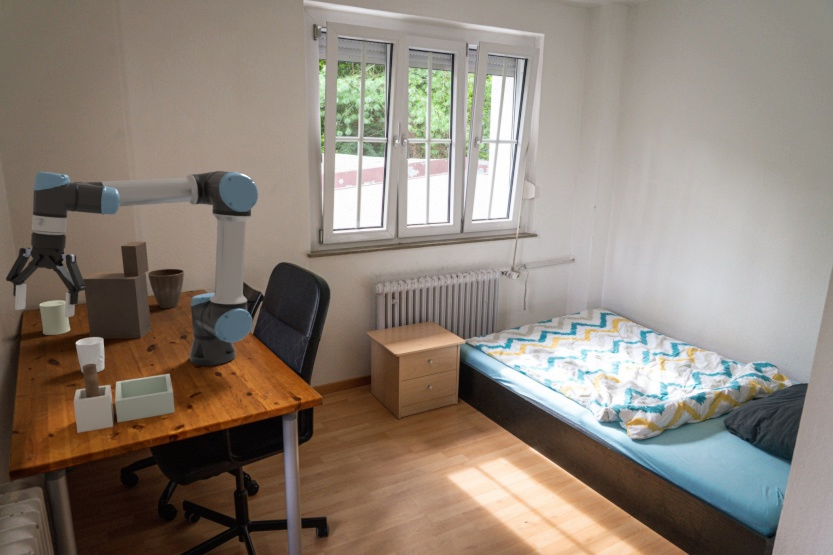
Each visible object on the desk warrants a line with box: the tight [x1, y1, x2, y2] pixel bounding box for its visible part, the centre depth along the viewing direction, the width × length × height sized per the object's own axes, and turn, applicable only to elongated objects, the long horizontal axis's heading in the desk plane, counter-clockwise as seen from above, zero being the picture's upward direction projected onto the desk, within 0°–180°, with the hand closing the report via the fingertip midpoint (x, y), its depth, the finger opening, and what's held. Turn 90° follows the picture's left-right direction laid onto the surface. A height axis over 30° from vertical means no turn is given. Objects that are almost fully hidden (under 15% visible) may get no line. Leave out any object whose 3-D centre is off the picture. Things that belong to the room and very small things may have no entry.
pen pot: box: [73, 384, 115, 434], centre depth 149 cm, size 8×8×10 cm
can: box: [38, 299, 71, 336], centre depth 223 cm, size 9×9×12 cm
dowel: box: [82, 364, 100, 398], centre depth 148 cm, size 3×3×16 cm
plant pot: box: [147, 268, 185, 309], centre depth 259 cm, size 15×15×16 cm
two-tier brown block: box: [83, 241, 152, 339], centre depth 221 cm, size 19×14×35 cm
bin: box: [114, 373, 175, 423], centre depth 159 cm, size 14×14×7 cm
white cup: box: [75, 336, 106, 373], centre depth 186 cm, size 8×8×10 cm
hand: (44, 312), depth 150 cm, fingers open, 13 cm apart
